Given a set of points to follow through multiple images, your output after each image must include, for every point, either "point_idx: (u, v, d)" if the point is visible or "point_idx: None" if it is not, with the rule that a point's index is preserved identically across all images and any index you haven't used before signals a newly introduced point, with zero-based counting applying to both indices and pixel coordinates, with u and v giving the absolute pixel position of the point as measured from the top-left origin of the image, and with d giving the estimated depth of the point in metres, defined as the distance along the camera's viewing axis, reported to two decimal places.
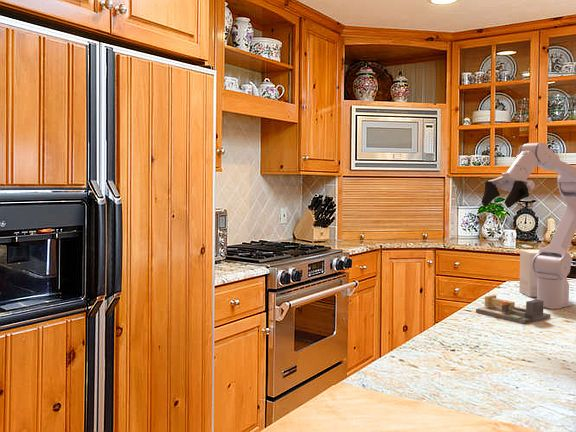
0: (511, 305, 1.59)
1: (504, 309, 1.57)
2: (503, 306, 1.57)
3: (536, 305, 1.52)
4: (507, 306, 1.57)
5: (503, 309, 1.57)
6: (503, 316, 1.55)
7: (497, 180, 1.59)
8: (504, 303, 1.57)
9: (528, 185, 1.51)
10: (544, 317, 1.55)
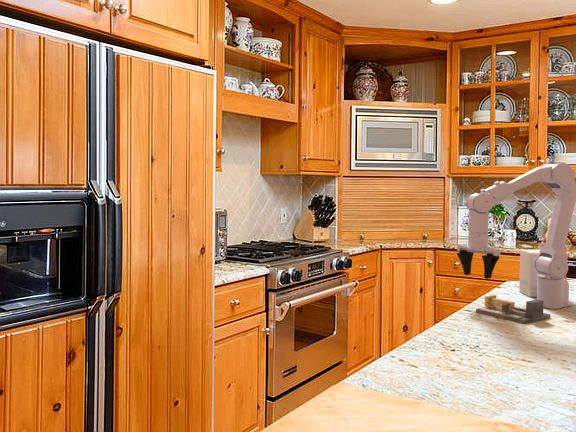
0: (511, 305, 1.59)
1: (504, 309, 1.57)
2: (503, 306, 1.57)
3: (536, 305, 1.52)
4: (507, 306, 1.57)
5: (503, 309, 1.57)
6: (503, 316, 1.55)
7: (465, 248, 1.71)
8: (504, 303, 1.57)
9: (495, 255, 1.63)
10: (544, 317, 1.55)
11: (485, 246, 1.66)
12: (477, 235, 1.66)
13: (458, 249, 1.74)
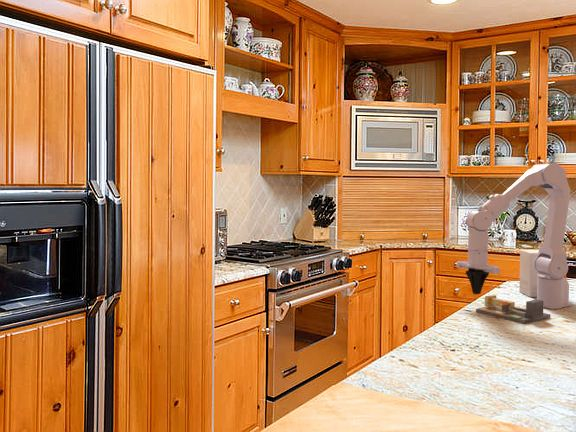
0: (511, 305, 1.59)
1: (504, 309, 1.57)
2: (503, 306, 1.57)
3: (536, 305, 1.52)
4: (507, 306, 1.57)
5: (503, 309, 1.57)
6: (503, 316, 1.55)
7: (465, 265, 1.71)
8: (504, 303, 1.57)
9: (494, 273, 1.63)
10: (544, 317, 1.55)
11: (484, 264, 1.67)
12: (477, 253, 1.66)
13: (458, 266, 1.74)
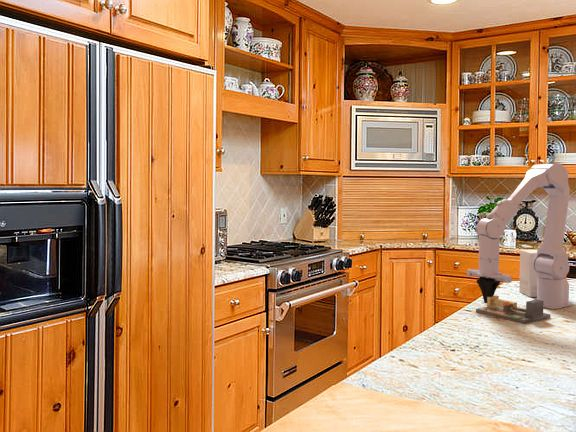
0: (513, 306, 1.59)
1: (505, 309, 1.57)
2: (504, 306, 1.57)
3: (536, 305, 1.52)
4: (508, 306, 1.57)
5: (504, 309, 1.57)
6: (503, 316, 1.55)
7: (476, 274, 1.68)
8: (505, 303, 1.56)
9: (506, 282, 1.60)
10: (544, 317, 1.55)
11: (496, 272, 1.64)
12: (488, 261, 1.63)
13: (468, 274, 1.71)
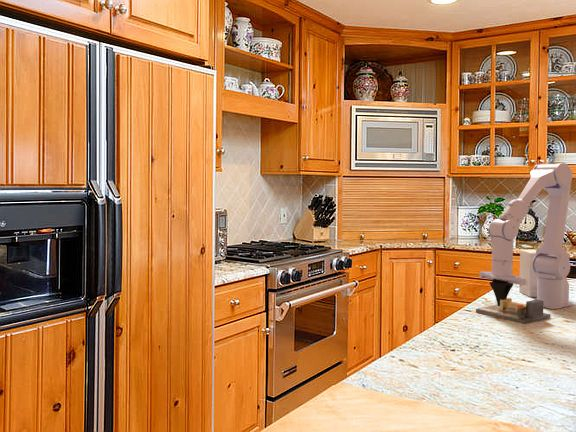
0: None
1: (519, 313, 1.53)
2: (518, 309, 1.53)
3: (536, 305, 1.52)
4: (523, 309, 1.53)
5: (518, 313, 1.53)
6: (503, 316, 1.55)
7: None
8: (519, 306, 1.53)
9: None
10: (544, 317, 1.55)
11: (510, 274, 1.60)
12: (501, 263, 1.59)
13: (480, 276, 1.67)
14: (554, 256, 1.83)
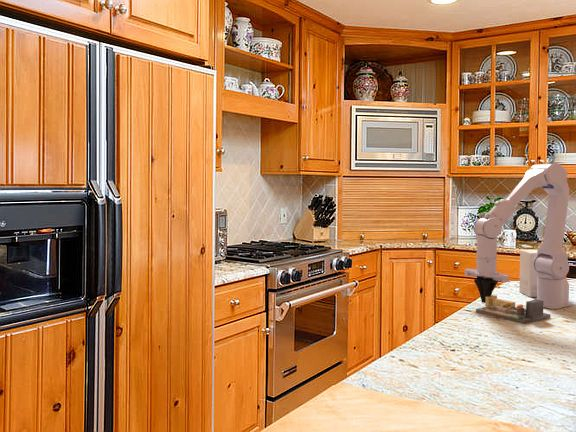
0: (512, 305, 1.59)
1: (519, 313, 1.53)
2: (518, 309, 1.53)
3: (536, 305, 1.52)
4: (523, 309, 1.53)
5: (518, 313, 1.53)
6: (503, 316, 1.55)
7: (473, 273, 1.69)
8: (519, 306, 1.53)
9: None
10: (544, 317, 1.55)
11: (493, 272, 1.64)
12: (485, 261, 1.64)
13: (466, 274, 1.72)
14: None
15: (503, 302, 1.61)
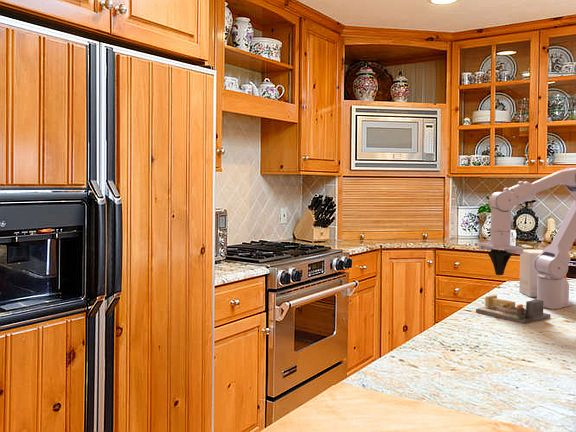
0: (512, 305, 1.59)
1: (519, 313, 1.53)
2: (518, 309, 1.53)
3: (536, 305, 1.52)
4: (523, 309, 1.53)
5: (518, 313, 1.53)
6: (503, 316, 1.55)
7: (487, 246, 1.71)
8: (519, 306, 1.53)
9: (518, 253, 1.63)
10: (544, 317, 1.55)
11: (508, 244, 1.67)
12: (500, 233, 1.66)
13: (480, 247, 1.74)
14: None
15: (503, 302, 1.61)
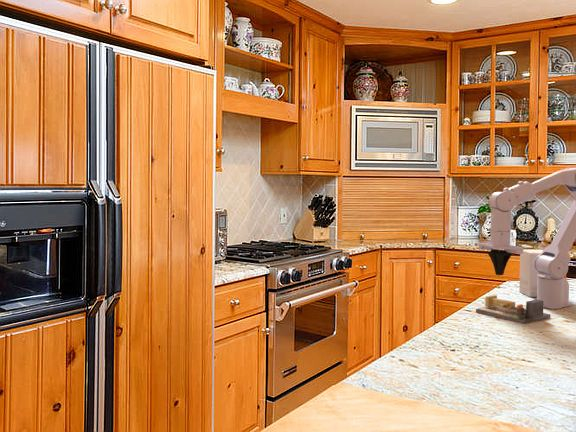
0: (512, 305, 1.59)
1: (519, 313, 1.53)
2: (518, 309, 1.53)
3: (536, 305, 1.52)
4: (523, 309, 1.53)
5: (518, 313, 1.53)
6: (503, 316, 1.55)
7: (487, 246, 1.71)
8: (519, 306, 1.53)
9: (518, 253, 1.63)
10: (544, 317, 1.55)
11: (508, 244, 1.67)
12: (500, 233, 1.66)
13: (480, 247, 1.74)
14: None
15: (503, 302, 1.61)
